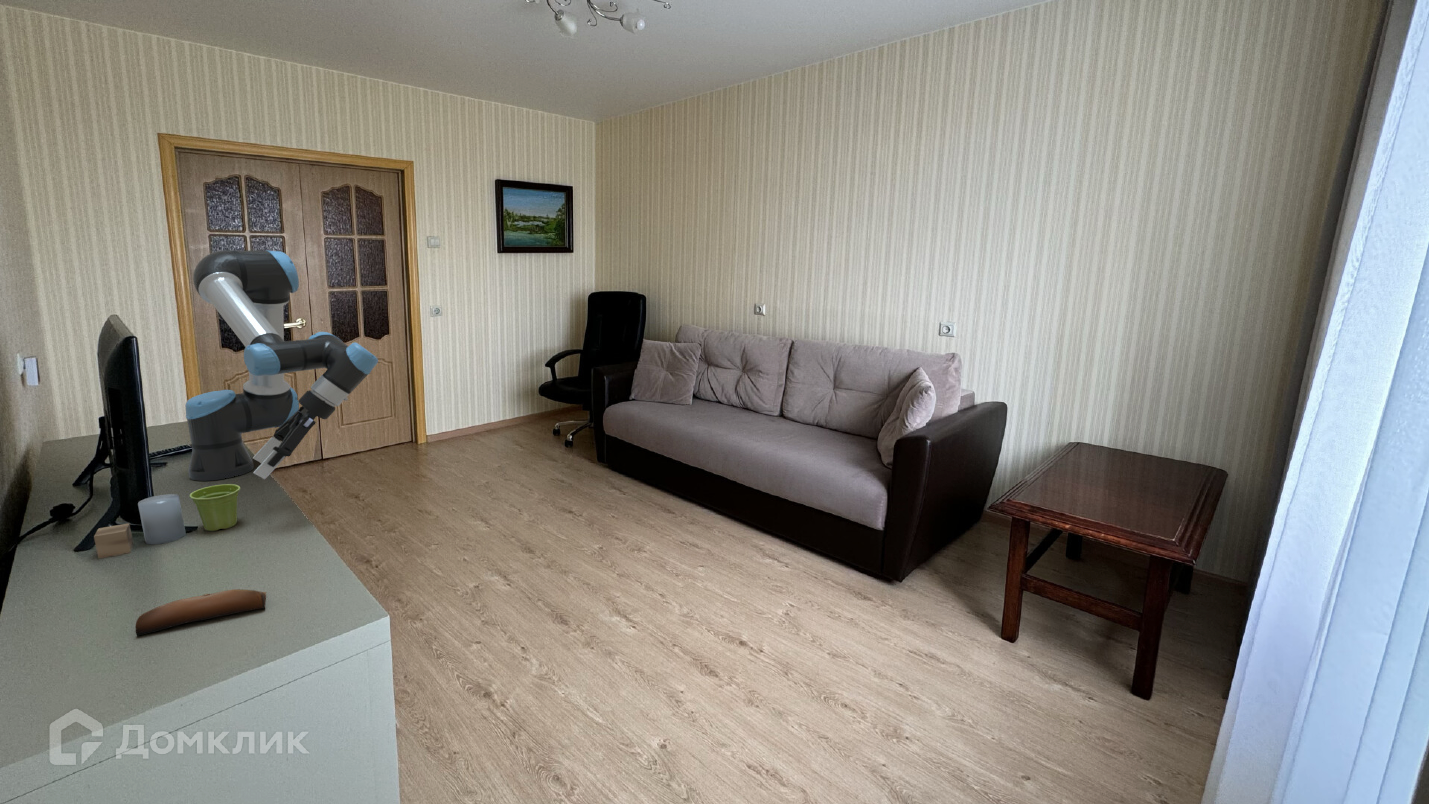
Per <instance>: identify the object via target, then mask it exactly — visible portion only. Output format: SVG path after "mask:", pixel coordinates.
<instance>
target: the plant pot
mask: <svg viewBox="0 0 1429 804" xmlns="http://www.w3.org/2000/svg"><path fill="white" fill-rule="evenodd" d="M240 491H241V486H240V485H238V484H232V483H227V484H226V483H225V484H216V485H210V486H206V487H202V488H199V489H197V490H195V491H192V492H190V494H189V498H190V499H191V500H192V501H193V503H194V504H195V506H196V508H197V511H198V513H199V516H200V520H201V522H202V523H201V524H202V525H203V528H204V530H205V531H209V532H210V531H214V532H215V531H218V530H220V529H223V530H225V529H230V528H232V527H235V525H237V521H238V520H237V519H238V518H237V517H238V512H237V511H238V510H237V509H238V496H239V492H240Z"/></svg>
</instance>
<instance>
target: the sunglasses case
mask: <svg viewBox="0 0 1429 804" xmlns="http://www.w3.org/2000/svg"><path fill="white" fill-rule="evenodd" d="M266 600H267V591H259V590H253V589H242V588H241V589H237V588H236V589H227V590H221V591H217V592H213V593H205V594H202V595H198V596H192V597H185V598H182V599H181V598H180V599H176V600H174V601H170V602H168V603H165V604H162V605H159V606H157V607H154V608H152V609H150V610H148V611H146V612H144V613H142V614H140V615H139V617H138V618H137V619H136V621H135V626H134V628H135V635H136V636H137V637H138V636H143V635H147V634H149V633H154V632H158V631H161V630H166V629H168V628H171V627H177V626H180V625H183V624H186V623H194V622H198V621H204V620H208V619H212V618H217V617H222V616H223V617H225V616H229V615H234V614H239V613H243V612H249V611H253V610H254V611H255V610H261V609H263V610H266V602H267V601H266Z"/></svg>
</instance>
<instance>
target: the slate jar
mask: <svg viewBox="0 0 1429 804" xmlns="http://www.w3.org/2000/svg"><path fill="white" fill-rule="evenodd" d="M137 506H138V511H139V516H140V520H141V526H142V530H143V536H144V540H145V541H144V542H145V543H146V544H147V545H159V544H160V545H162V544H166V543H170V542H174V541H178V540H179V539H182V538H184V537H185V536H186V534H187V533H186V529H185V528H186V527H185V521H184V516H183V511H182V507H181V500H180V495H179V494H176V493H175V494H174V493H169V494H160V495H159V494H158V495H154V496H149V497H147V498H144V499H142V500H139V501H138V503H137Z"/></svg>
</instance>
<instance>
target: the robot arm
mask: <svg viewBox="0 0 1429 804" xmlns="http://www.w3.org/2000/svg"><path fill="white" fill-rule="evenodd" d="M192 280H193V286H194V288H195V290H196V293H197V294H198V295H199V296H200V298H201V299H202V300H203V301H204V302H206V303H208V304H211V305H212V306H213V307H214V309H216V311H217V313H219V315H220V316H221V317H222V319H223V320H224V322H226V324H227V325H228V326H229V328H231V330H232V331H233V332H234V334H235V335H236V337H237V338H238V339H239V340H240V342H241V343H242V344H243V346H244V347H245V348H244V350H243V360H244V361H243V362H244V365H245V366H246V369H247V371H248V380H247V381H246V382H244V383H243V385H242V393H241V392H240V393H236V392H235V391H234V390H233V389H221V390H214V391H209V392H204V393H200V394H197V395H195V396H193V397H191V398H189V399H188V400H187V401H186V402H185V418H186V420H187V427H188V432H189V437H190V444H191V448H192V450H191V451H192V452H191V457H190V460H189V465H188V468H187V469H188V478H189V479H190V478H191V479H190V480H192V481H200V482H205V481H207V482H208V481H218V480H223V479H224V480H225V478H226V479H229V478H231V479H232V478H234V476H235V477H238V475H239V476H242V475H244V474H245V475H246V474H247V473H249V472H251V471H252V470H253V469H254V461H253V459H254V460H255V461H257V462H259V463H260V465H258V467H257V468H256V469H254V471H253V474H254V475H255V476H256V475H257V476H258V477H260V479H263V480H266V479H267V478H268V477H269V475H271V473H272V472H273V471H275V469H277V468H278V466H279V465H280V464H281V463H282V462H283V461H284V459H285V458H286V457H290V456H292V454H293V452H294V451H295V450H296V448H297V447H298V446H299V445H300V443H301V441H302V440H303V439H304V438H305V437H306V435H307V434H308V433H309V431H310V430H311V429H312V428H313V427H314V426H315V425H316V423H317V422H316V421H315V419H316V418H317V417H318V418H320V419H321V420H328V419H329V418H330V417H331V415H332V414H333V413H334V412H335V411H336V407H339V406H340V405H342V403H343V402H347V401H348V400H349V398H348V397H349V396H350V394H351V393H352V392H353V391H354V390H355V389H356V388H357V387H358V386H359V385H360V384H361V383H362V382H363V380H364V379H366V377H367V376H368V375H370V374H371V372H372V370H373V369H374V368H375V367H376V365H377V364H378V363H379V358H378V357H377V356H376V355H374V353H371V352H370V351H369V350H368V349H366V348H365V347H363V346H362V345H361V344H359V342H352V343H351V344H349V345H348V344H346V343H345V342H344V341H343V340H342V339H341V338H339V337H338V336H336V335H334V334H332V333H330V332H327V331H318V332H315V333H314V334H312V335H310V336H309V338H307V339H297V340H287V341H286V340H284V339H285V337H284V336H285V333H284V332H285V331H284V329H285V328H284V325H285V324H284V323H285V322H284V318H285V317H284V306H286V304H288V303H289V302H290V298H291V297H290V294H293V293H296V292H297V291H299V290H298V289H299V287H300V281H299V275H298V271H297V268H296V266H295V264H294V262H293V259H292V258H290V256H289V255H288V254H286V253H285V252H283V251H277V250H270V249H269V250H268V249H265V250H264V249H263V250H230V249H229V250H217V251H213V252H211V253H209V254H207V255H205V256H204V257H203V258H202V259H200V261H198V263H197V265H195V268H194V271H193V276H192ZM319 369H326V370H325V372H324V373H323V374H321V375H320V376H319V377H318V378H317V379H316V381H314V383H313V384H312V385H311V386H310V389H311V390H306V392H305V393H303V395H302V396H301V397H300V398H299V399H298V394H297V392H296V390H295V389H294V388H293V387H291V385H290V383H289V382H288V381H286V380H285V374H288V373H295V372H301V371H309V370H319ZM299 405H300V407H299ZM275 428H277V429H275ZM267 429H275V430H274V433H273V435H272V436H271V437H270V438H269V439H268V440H267V442H266V443H264V445H263V446H262V447H261V448H260V449H259V450H258V451H257V452H256V454H255V455H254V456H253V457H251V456H250V455H251V454H249V452H248V450H247V449H246V447H245V445H244V442H243V439H242V438H243V437H242V434H245V433H250V432H257V431H262V430H267Z"/></svg>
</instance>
